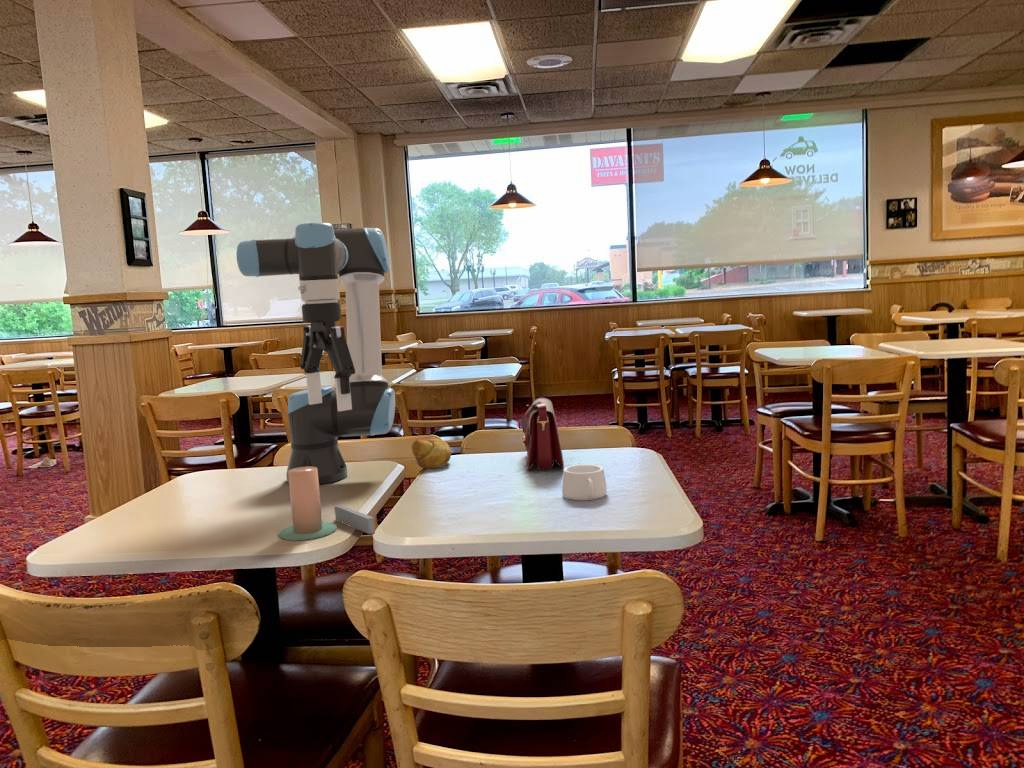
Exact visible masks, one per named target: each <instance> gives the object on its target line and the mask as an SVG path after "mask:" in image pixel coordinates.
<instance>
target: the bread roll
mask: <svg viewBox="0 0 1024 768" xmlns="http://www.w3.org/2000/svg"><path fill="white" fill-rule="evenodd" d="M411 451H412V454H413V456H414V457H415V459H416V463H417V465H418V466H419V467H420V468H422V469H436V468H443V467H445V466H446V465H447V464H448V462H450V460H451V455H452V452H451V451H452V449H451V447H450V445H449V444H448V442H446V441H444V440H442V439H440V438H437V437H435V438H429V439H425V440H423V439H416V440H414V441H413V442H412V444H411Z"/></svg>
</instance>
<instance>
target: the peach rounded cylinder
mask: <svg viewBox="0 0 1024 768" xmlns="http://www.w3.org/2000/svg"><path fill="white" fill-rule="evenodd" d="M288 475H289V483H288V485H289V496H290V497H289V498H290V507H291V508H290V509H291V518H292V525H293V532H294V533H296V534H309V533H314V532H317V531H320V530H321V529H322V520H323V519H322V509H321V508H322V507H321V506H322V505H321V493H320V484H319V481H318V469H317V467H298V468H294V469H291V470H289V471H288Z"/></svg>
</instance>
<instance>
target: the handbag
mask: <svg viewBox="0 0 1024 768" xmlns="http://www.w3.org/2000/svg"><path fill="white" fill-rule="evenodd" d="M528 415H529V418H528V421H527V416H528ZM521 421H522V422H521V428H522V432H523V435H522V437H523V438H522V439H521V440H522V441H523V444H522V445H523V447H525V451H526V469H527V471H530V469H531V468H532V467H533V466H534V464H535V463H536V466H537V469H538V470H539V471H544V470H552V469H553V467H554V463H555V462H556V463H557V465H558V466H559V467H560V468H561V469H563V470H564V457H563V456H564V455H563V451H562V450H563V449H562V444H561V439H560V433H559V429H558V422H557V417H556V413H555V409H554V405H553V402H552V400H551V399H549V398H546V397H538V398H535V399H534V400H533V401H532V403H531V405H530V406H529V407H528V408H527V410H526V411H525V413H524V416H523V419H522V420H521Z"/></svg>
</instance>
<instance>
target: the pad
mask: <svg viewBox="0 0 1024 768" xmlns="http://www.w3.org/2000/svg"><path fill="white" fill-rule="evenodd" d="M336 529H338V526H337V524H336V523H334V522H330V521H322V529H321V530H320V531H317V532H314V533H309V534H296V533H294V532H293V524H291V525H289V526H286V527H283V528H282V529H280V531H279V532H278V537H279V539H282V540H285V541H291V540H292V541H293V540H301V541H307V540H306V539H311V540H314V539H313V538H316V539H318V538H317V537H321V538H323V537H322V536H324V537H326V536H325V535H327V534H330V533H332V532H333V533H335V532H336V531H337V530H336ZM335 530H336V531H335ZM334 531H335V532H334ZM333 533H332V534H333ZM330 535H331V534H330ZM327 536H328V535H327ZM293 542H294V541H293Z"/></svg>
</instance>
